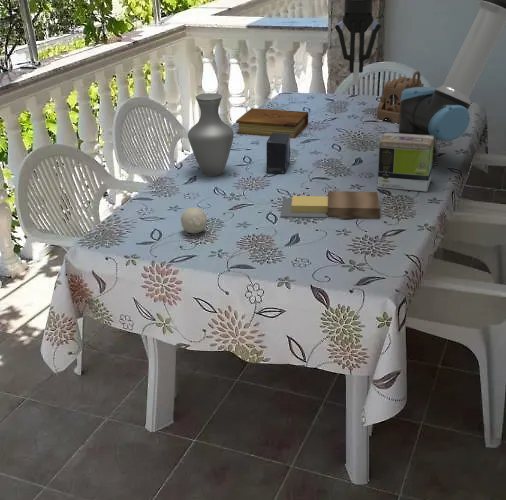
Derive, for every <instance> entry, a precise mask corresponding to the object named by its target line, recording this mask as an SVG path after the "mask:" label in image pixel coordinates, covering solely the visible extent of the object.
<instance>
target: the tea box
mask: <svg viewBox="0 0 506 500" xmlns="http://www.w3.org/2000/svg"><path fill="white" fill-rule="evenodd" d="M433 146H434V136H433V135H417V134H401V133H399V132H397V133H396V132H384V133H383V135H382V137H381V138H380V140H379V145H378V164H377V167H378V168H377V188H384V189H385V188H386V189H395V190H406V191H408V190H409V191H416V192H417V191H418V192H425V193H426V192H428V190H429V186H430V183H431V179H432V172H433V171H432V170H433V162H432V159H433Z"/></svg>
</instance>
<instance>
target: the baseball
mask: <svg viewBox="0 0 506 500" xmlns="http://www.w3.org/2000/svg"><path fill="white" fill-rule="evenodd" d="M180 216H181V217H180V223H181V226H182V228H183V229H184V230H185V232H187V233H190V234H198V233H201V232H202V231H204V230H205V228H206V227H207V223H208V217H207V215H206V213H205V211H204V210H202V209H201V208H199V207H189V208H186V209H185V210H184V211H183V212H182V214H181V215H180Z"/></svg>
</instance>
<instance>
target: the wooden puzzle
mask: <svg viewBox="0 0 506 500" xmlns="http://www.w3.org/2000/svg"><path fill="white" fill-rule="evenodd" d="M416 76H417V78H416ZM424 85H425V84H424V83H422V80H421V72H420V71H418V70H417V71H414V72H413V74H412V77H410V78H409V77H406V76H399V77H398V78H393V79H391V81H390V80H388V81H386V82H385V84H384V87H383V95H381V96H380V101H379V103H378V106H377V111H376V112H377V113H376V120H377V119H379V120H385V119H390V120H391V121H390V120H389V121H390V122H391V124H392V123H397V124H398V125H399V121H400V106H401V102H400V100H401V95H402V92H403V91H404V90H405V89H408V88H414V87H425V86H424ZM385 121H386V120H385ZM397 124H396V125H397Z"/></svg>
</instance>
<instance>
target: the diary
mask: <svg viewBox="0 0 506 500" xmlns="http://www.w3.org/2000/svg"><path fill="white" fill-rule="evenodd" d="M235 123H236V124H238V131H237V132H236V134H237V135H247V136H256V137H257V136H260V137H270V136H271V134H272V133H283V134H290V139H296V138H297V137H298V136H299V135H300V134H301V133H302V132H303V131H304V130H305V128H306V127H307V126H308V125H309V112H308V111H298V110H297V111H296V110H285V109H283V110H282V109H270V108H269V109H267V108H266V109H265V108H257V107H256V108H255V107H253V108H252V107H251V108H250V109H249V110H247V111H246V112H245V113H244V114H242V115H241V116H240V117H239V118H237V120H236V121H235Z"/></svg>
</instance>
